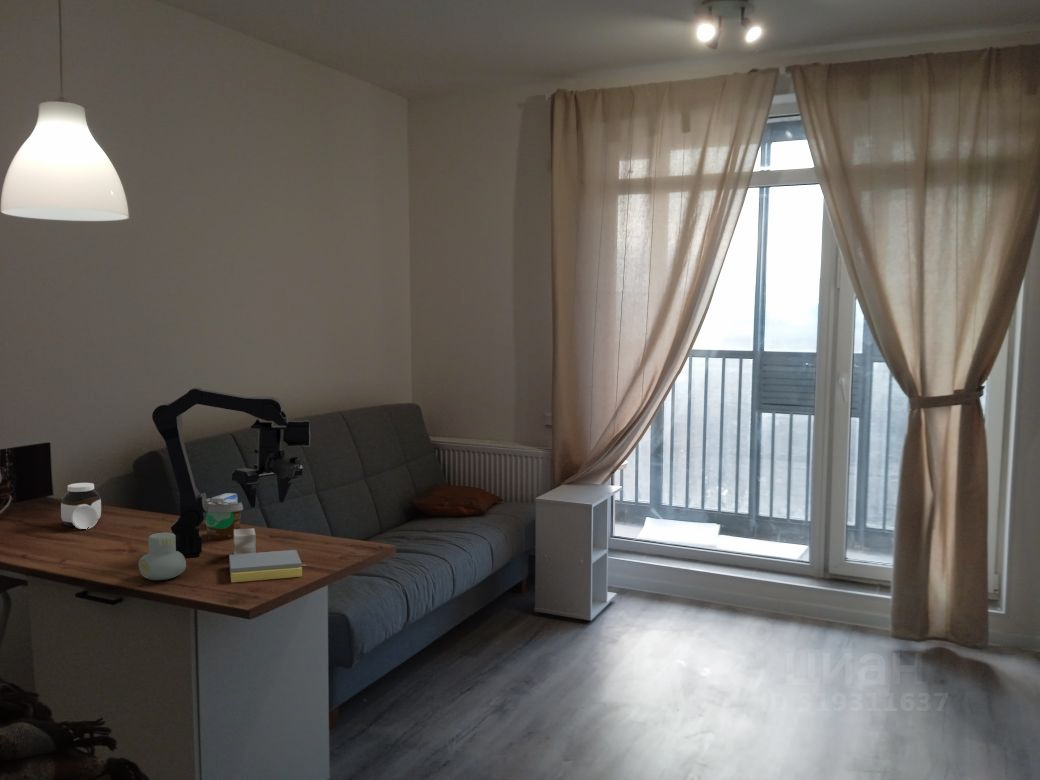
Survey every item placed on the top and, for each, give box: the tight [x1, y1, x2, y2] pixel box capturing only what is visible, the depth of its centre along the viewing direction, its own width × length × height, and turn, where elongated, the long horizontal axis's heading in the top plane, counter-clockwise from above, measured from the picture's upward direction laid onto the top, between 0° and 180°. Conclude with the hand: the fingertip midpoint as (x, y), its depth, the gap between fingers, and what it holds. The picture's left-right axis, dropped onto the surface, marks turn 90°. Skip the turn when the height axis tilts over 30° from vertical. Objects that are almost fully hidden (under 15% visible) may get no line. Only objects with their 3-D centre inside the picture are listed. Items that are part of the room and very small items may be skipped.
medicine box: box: [210, 492, 238, 504], centre depth 247 cm, size 8×4×9 cm, turn 168°
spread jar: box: [60, 482, 102, 530], centre depth 242 cm, size 12×11×12 cm
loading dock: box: [228, 549, 303, 583], centre depth 203 cm, size 16×13×3 cm
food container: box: [205, 498, 244, 541], centre depth 232 cm, size 12×6×10 cm, turn 68°
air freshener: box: [138, 532, 187, 581], centre depth 197 cm, size 11×8×10 cm
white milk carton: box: [233, 527, 257, 554], centre depth 215 cm, size 5×8×6 cm, turn 21°
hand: (267, 504), depth 219 cm, fingers open, 9 cm apart
